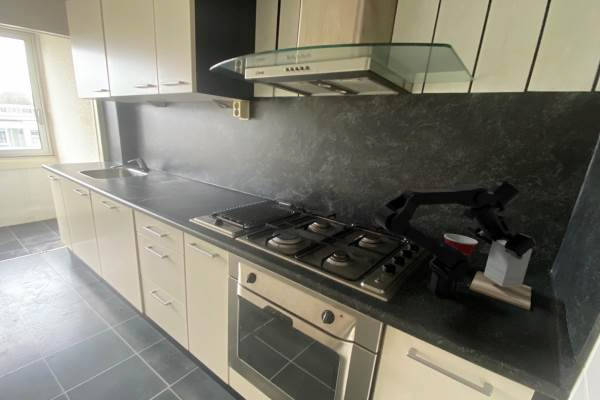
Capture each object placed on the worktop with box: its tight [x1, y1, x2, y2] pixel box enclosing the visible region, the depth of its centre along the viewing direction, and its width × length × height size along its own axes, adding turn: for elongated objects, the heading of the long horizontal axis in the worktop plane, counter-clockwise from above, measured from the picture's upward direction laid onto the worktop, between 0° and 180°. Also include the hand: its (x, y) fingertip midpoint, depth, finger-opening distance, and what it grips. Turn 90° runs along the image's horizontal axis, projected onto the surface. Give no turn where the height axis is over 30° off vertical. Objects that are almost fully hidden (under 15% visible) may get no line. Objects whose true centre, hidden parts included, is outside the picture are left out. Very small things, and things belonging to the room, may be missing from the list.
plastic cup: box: [443, 233, 479, 260], centre depth 100 cm, size 11×11×12 cm
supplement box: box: [484, 239, 533, 287], centre depth 86 cm, size 7×7×13 cm
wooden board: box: [469, 270, 532, 311], centre depth 88 cm, size 15×15×1 cm
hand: (509, 252), depth 85 cm, fingers closed on supplement box, 7 cm apart
